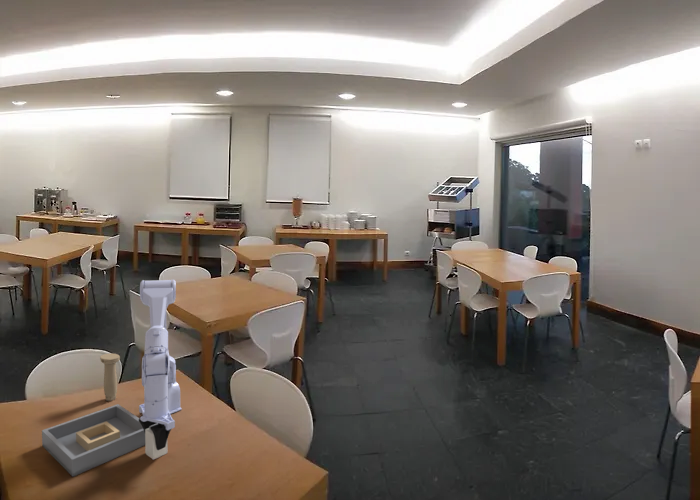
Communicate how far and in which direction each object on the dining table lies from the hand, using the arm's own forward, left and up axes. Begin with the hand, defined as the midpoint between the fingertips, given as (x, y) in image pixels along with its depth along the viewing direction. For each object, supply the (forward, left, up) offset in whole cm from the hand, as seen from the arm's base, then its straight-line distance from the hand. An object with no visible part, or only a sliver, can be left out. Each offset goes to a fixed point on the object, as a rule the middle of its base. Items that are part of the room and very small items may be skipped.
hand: (156, 444), depth 114 cm
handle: (-6, -40, -3) cm, 41 cm away
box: (+8, -16, -2) cm, 18 cm away
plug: (0, 0, -2) cm, 2 cm away
